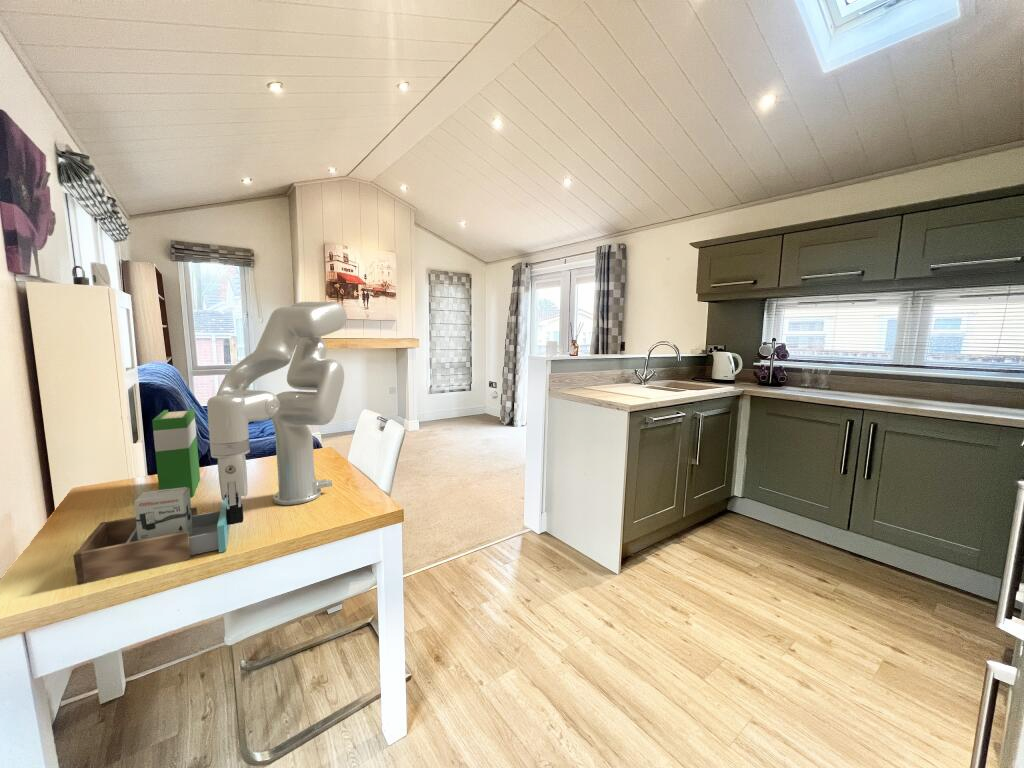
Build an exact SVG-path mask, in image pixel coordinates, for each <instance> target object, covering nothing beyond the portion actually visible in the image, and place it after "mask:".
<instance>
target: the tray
mask: <svg viewBox="0 0 1024 768" xmlns="http://www.w3.org/2000/svg"><path fill="white" fill-rule="evenodd" d="M226 507H227V504H226V499H225V500H223V499H222V501H221V507H220V510H217V511H212V512H210V511H209V512H205V513H200V514H199V513H198V515H194V516H192V529H193V536H191V537H189V545H190V556H194V555H198V554H203V553H207V552H213V551H216V550H218V552H219V553H222V552H226V551H227V547H228V546H227V545H228V539H229V532H230V528H231V527H230V526H231V525H227V517H226ZM134 541H138V537H137V526H136V528H135V529H134V531H133V533H132V534H131V536H130V537H129V539H128V540H127V542H126V543H129V542H134Z"/></svg>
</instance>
